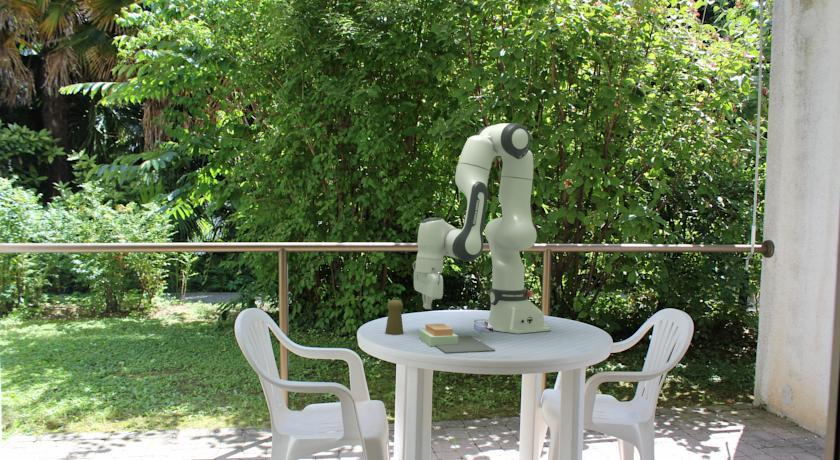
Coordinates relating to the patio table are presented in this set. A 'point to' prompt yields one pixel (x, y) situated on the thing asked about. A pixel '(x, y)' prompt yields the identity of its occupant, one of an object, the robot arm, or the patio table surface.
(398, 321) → the cork
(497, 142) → the robot arm
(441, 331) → the block
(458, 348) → the mat
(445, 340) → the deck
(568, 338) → the patio table surface
